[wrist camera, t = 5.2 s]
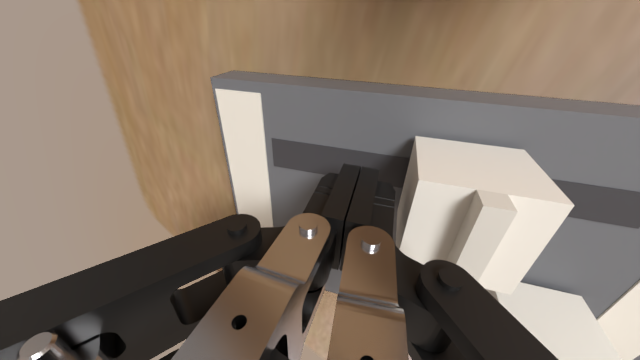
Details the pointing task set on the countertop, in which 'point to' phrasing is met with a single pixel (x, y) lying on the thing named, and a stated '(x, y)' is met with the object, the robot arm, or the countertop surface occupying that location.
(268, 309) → the robot arm
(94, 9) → the countertop surface
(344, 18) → the countertop surface
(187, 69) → the countertop surface
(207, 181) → the countertop surface
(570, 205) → the tab
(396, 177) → the switch panel
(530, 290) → the tab
